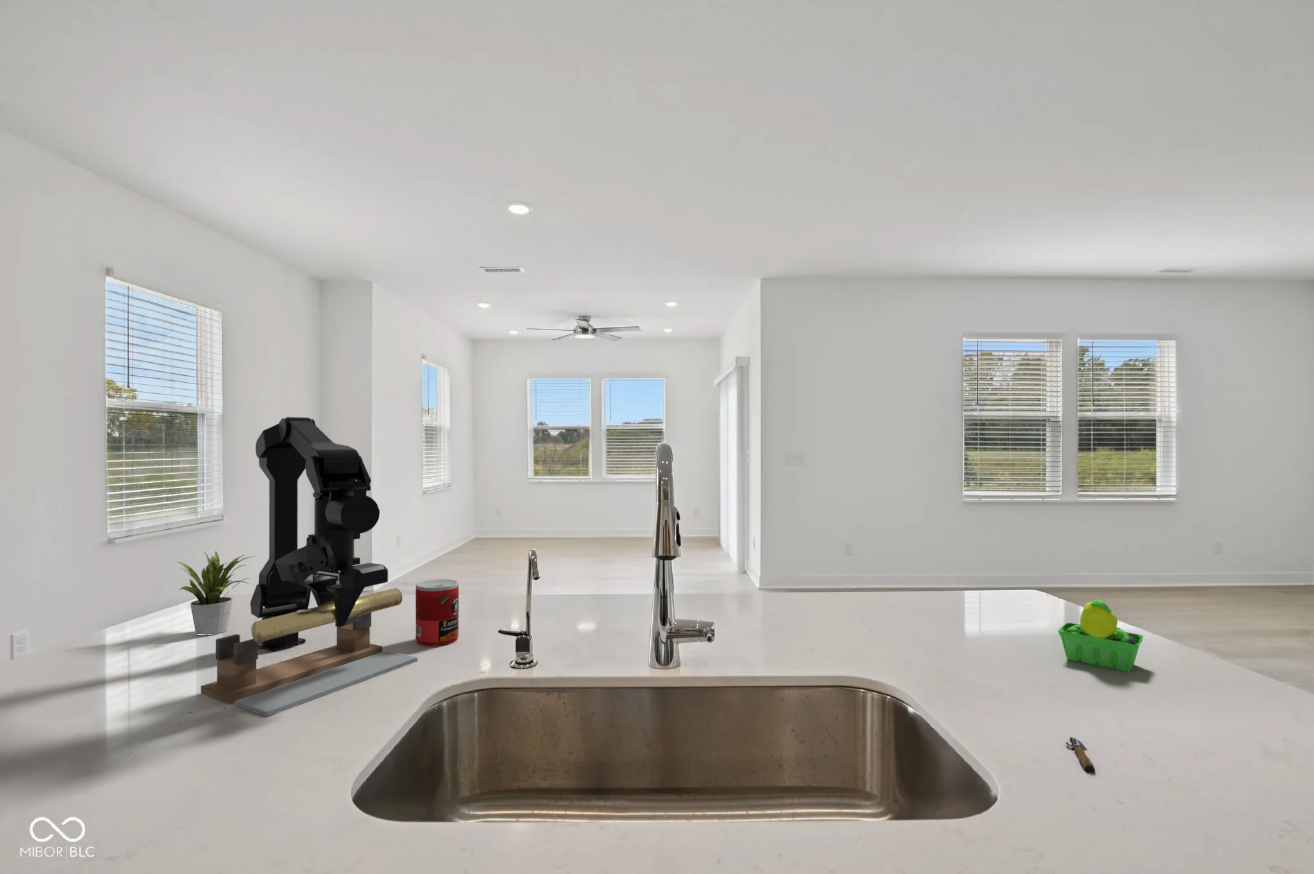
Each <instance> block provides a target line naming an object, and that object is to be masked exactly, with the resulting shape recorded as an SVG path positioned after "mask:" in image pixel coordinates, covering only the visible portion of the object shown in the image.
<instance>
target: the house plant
mask: <svg viewBox="0 0 1314 874" xmlns="http://www.w3.org/2000/svg"><path fill="white" fill-rule="evenodd" d="M203 553H204V554H205V556H206V560H207V565H206V566H205V567H203V569H202V570H201V574H200V575H201V578H200V576H199V575H198V574H197V572H196V571H195V570H194V568H192V567H191V566H189V565H187V564H185V563H184V562H181V561H177V563H178V564H180V565H182V566H183V567H184V568H185V569H184V568H183V567H180V569H181V570H183V571H185V572H186V573H187V574H188V575H189V576H190V577H191V578H193V580H192V579H189V585H190V586H189V585H187V586H186V585H185V586H181V587H180V588H179V590H178V591H180V590H185V591H187V592H189V593H191V594H193V595H194V596H195V597H196V599H197V600H194V601H192V602H190V603H189V604H190V611H191V614H192V615H191V616H192V620H193V621H192V622H193V625H194V630H195V635H196V634H205V635H206V634H207V635H208V634H209V636H211V635H210V634H216V635H219V633H220V634H223V633H225V632H227V631H228V628H229V621H230V616H231V611H232V606H233V598H232V597H231V596H221V595H222V594H223V592H224V590H225V589H227V588H228V587H229V586H230V585H232V584H235V583H236V584H235V585H234V586H233V588H235V587H236V586H238V584H239V583H245V584H248V585H249V583H248V582H246V581H244V580H248V579H249V577H246V578H243V579H241V580H234V581H233V580H230V578H231V577H232V576H235V573H233V572H231V573H230V571H231V570H232V569H233V568H234V567H235V566H236V565H238V564H239V563H240V562H241V561H244V560H246V559H251V558H252V556H247V557H244V556H245V554H243V555H239V556H238V557H236V558H234V559H232V561H230V562H229V563H227V562H226V563H221V560H220V557H219V553H218V552H217V551H216V550H215V553H214V555H213V556H211V558H209V556H208V554H207V553H206V552H204V551H203ZM243 557H244V558H243ZM254 557H257V556H253V558H254ZM240 558H241V559H240ZM220 563H221V564H220ZM227 564H228V565H227ZM225 565H226V567H224V566H225ZM245 566H246V564H242V565H239V566H237V567H236V568H234V571H236V570H237V569H239V568H240V567H245ZM229 573H230V574H229ZM194 581H195V582H196V583H195V582H194ZM197 585H198V586H197ZM227 594H228V592H226V593H225V595H227ZM222 632H223V633H222Z"/></svg>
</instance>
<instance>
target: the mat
mask: <svg viewBox="0 0 1314 874" xmlns="http://www.w3.org/2000/svg"><path fill="white" fill-rule="evenodd" d="M416 662H418V656H413V655H409V654H404V653H400V652H395V651H390V650H382V652H380V653H377V654H374V655H371V656H368V657H365V658H362V659H359V660H356V661H353V662H350V663H347V664H344V665H341V666H338V667H335V668H332V669H329V670H326V671H323V672H320V673H317V674H314V675H311V676H308V677H305V678H302V679H299V680H296V681H293V682H290V683H287V684H284V685H281V686H278V687H275V688H272V689H269V690H266V691H263V692H260V693H257V694H254V695H251V696H248V697H245V698H242V699H239V700H236V701H235V703H234V707H235V706H236V707H239V708H242V709H244V710H248V711H250V712H253V713H257V714H260V715H262V716H265V717H268V716H273V715H274V714H278V713H280V712H283V711H286V710H289V709H291V708H293V707H294V708H295V707H296V706H299V705H302V704H305V703H307V702H310V701H312V700H315V699H318V698H321V697H324V696H326V695H329V694H332V693H334V692H337V691H339V690H342V689H345V688H348V687H351V686H354V685H356V684H359V683H361V682H364V681H367V680H370V679H372V678H375V677H377V676H380V675H383V674H386V673H389V672H391V671H393V670H396V669H399V668H402V667H405V666H407V665H410V664H413V663H416Z"/></svg>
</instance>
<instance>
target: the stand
mask: <svg viewBox="0 0 1314 874" xmlns="http://www.w3.org/2000/svg"><path fill="white" fill-rule="evenodd" d="M334 627H336V645H332V646H329V647H325V648H322V649H319V650H316V651H313V652H309V653H306V654H303V655H299V656H295V657H292V658H289V659H286V660H282V661H280V662H275V663H272V664H270V665H265V666H263V667H258V668H257V660H258V659H259V648H258V642H256V641H255V640H254V639H253V638H251V639H248V640H243V641H241V635H240V634H236V633H234V634H232V635H228V636H224V637H219V638H216V639H215V660H216V681H213V682H210V683H206V684H204V685H201V686H200V694H201V695H202V696H206V697H209V698H212V699H214V700H218V701H221V702H224V703H226V704H230V705H232V704H235V701H236V700H239V699H242V698H245V697H248V696H251V695H254V694H257V693H260V692H263V691H266V690H269V689H272V688H275V687H278V686H281V685H284V684H287V683H290V682H293V681H296V680H299V679H302V678H305V677H308V676H311V675H314V674H317V673H320V672H323V671H326V670H329V669H332V668H335V667H338V666H341V665H344V664H347V663H350V662H353V661H356V660H359V659H362V658H365V657H368V656H371V655H374V654H377V653H380V652H383V646H382V645H379V644H373V643H371V642H370V641H371V640H370V637H371V635H370V633H371V627H372V612H371V613H367V614H363V615H360V616H356V617H352V618H348V619H347V621H346V623H345V625H344V626H342V627H337V624H336V622H334Z"/></svg>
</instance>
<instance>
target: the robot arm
mask: <svg viewBox="0 0 1314 874" xmlns="http://www.w3.org/2000/svg"><path fill="white" fill-rule="evenodd" d="M255 455H256V457H257V458H258V466H259V468H260V469H261V471H262V472H263V474H264V475H265V477H266V478H267V479H268V490H269V491H268V496H269V497H268V499H269V501H268V503H269V504H268V511H269V512H268V524H269V527H268V559H267V561H266V563H265V564H264V566H263V567H262V568H261V570H260V571H259V574H258V583H257V584H256V585H255V588H254V591H253V594H252V596H251V600H250V603H249V604H250V605H249V606H250V614H251V615H253V616H254V617H255V618H258V619H261V620H264V619H268V618H272V617H277V616H281V615H285V614H289V613H293V612H297V611H302V610H306V609H309V606H310V601H311V593H312V595H313V598H314V600H315V603H316V605H317V606H316V607H318V606H323V605H327V604H331V603H334V605H335V617H336V624H337V627H342V626H344V625H345V623H346V621H347V619H348V617H349V615H350V613H351V611H352V609H353V607H354V605H355V603H356V601H357V600H358V598H359V597H360V596H362V593H363V591H364V589H365V588H369V587H372V586H376V585H380V584H381V585H382V584H385V583H389V569H388V568H387V567H386V566H385V565H384V564H380V563H372V562H366V563H361V557H356V556H355V540H359V539H361V534H364V533H367V532H368V531H372V529H374V527H375V526H376V525H377V523H379V522H378V521H379V519H380V513H381V511H380V508H379V505H378V503H377V501H375V500H374V498H372V497H371V496H368V495H367V492H370V491H371V482H372V479H371V477H370V475H369V473H368V471H367V468H366V465H365V463H364V461H363V460H364V459H363V458H362V456H361V455H360V453H359V452H358V451H357V449H355V448H353V447H351V446H349V445H344V444H338V443H335V442H334V441H332V439H331V438H329V436H327V435H326V434H325V433H324V432H323V431H322V430H321V429H320V428H319V427H318V426H317V425H316V421H315V420H314V419H313V418H310V417H302V416H301V417H299V416H287V417H282V418H280V420H279V422H278V423H277V424H275V425H273V426H271V427H268V428H265V429H264V430H262V432H261V433H260V435H259V436H258V437H257V440H256V442H255ZM304 471H305V474H306V477H307V479H308V482H309V484H310V485H311V487H312V489H313V493H312V497H313V498H314V519H313V520H314V530H313V531H314V533H312V534H311V533H310V534H308V535H307V537H306V540H305V541H306V545H305V546H303V547H300V548H298V546H299V545H298V544H299V543H298V542H299V541H298V540H299V539H298V537H299V536H298V534H299V532H298V525H299V524H298V522H299V520H298V515H299V514H298V513H299V508H298V505H299V503H298V499H299V497H298V496H299V495H298V494H299V492H298V489H299V487H298V485H299V484H298V481H299V479H300V477H301V476H302V474H303V473H304ZM337 627H336V628H337ZM306 640H307V639H306V638H303V637H299V632H296V633H292V634H289V635H285V636H281V637H278V638H274V639H270V640H266V641H263V642H258V649H262V650H266V651H270V652H276V651H279V650H282V649H283V650H284V649H286V648H289V647H293V646H297V645H300V644H303V643H306V642H307V641H306Z"/></svg>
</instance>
